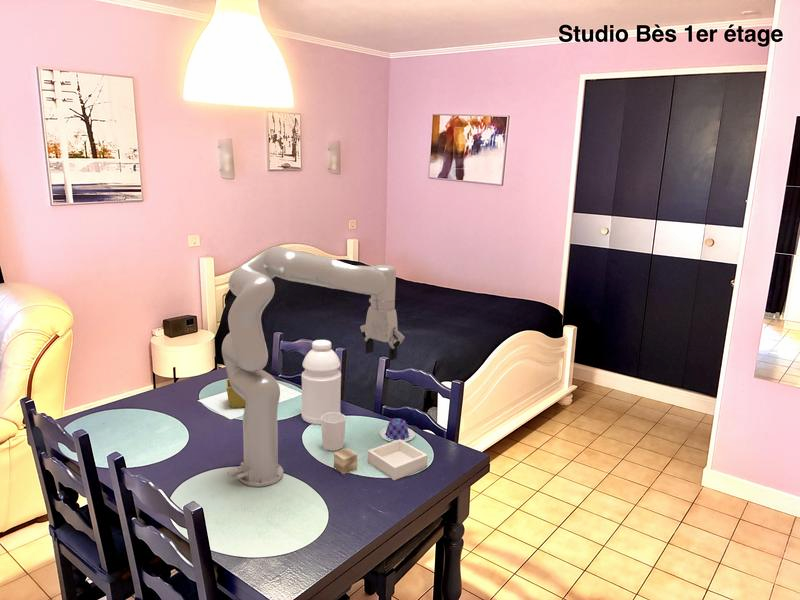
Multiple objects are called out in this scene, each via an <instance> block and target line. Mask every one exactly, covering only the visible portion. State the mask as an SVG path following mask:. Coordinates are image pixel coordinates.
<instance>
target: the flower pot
mask: <svg viewBox="0 0 800 600" xmlns="http://www.w3.org/2000/svg"><path fill="white" fill-rule="evenodd" d="M225 384H226V385H225V386H226V393H227V400H228V403H229V405H230V407H233V408H232V409H234V408H235V407H238V408H245V406H246V402H245V400H244V399H243V398H242V397H241V396H240V395H238V394H237V393H236V392H235V391H234V390H233V389H232V387H231V385H230V382H229V379H228V378H227V379H226V380H225ZM235 409H236V408H235Z"/></svg>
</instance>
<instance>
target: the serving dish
mask: <svg viewBox="0 0 800 600" xmlns="http://www.w3.org/2000/svg"><path fill="white" fill-rule="evenodd" d="M428 456H429V455H428V454H426V453H425V452H424V451H421V450H419V449H418V448H416V447H415V446H413V445H411V444H409V443H407V441H405V442H404V441H403V440H401V439H399V440H396V441H395V440H394V441H393V442H392V441H389V442H388V443H385V444H382V445H380V446H377V447H374V448H371V449H368V450H367V461H366V462H368V463H367V464H368V465H370V464H371V465H370V466H371V467H373V466H374V467H373V468H375V469H376V470H377V471H379V470H380V471H379V472H381V473H382V472H383V474H384V475H385V476H386V477H389V478H390V479H391V480H393V481H396V480H398V479H402V478H404V477H406V476H409V475H412V474H414V473H416V472H419V471H421V470H423V469H426V468H428V460H429V459H428V458H429V457H428Z"/></svg>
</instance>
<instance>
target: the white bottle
mask: <svg viewBox="0 0 800 600" xmlns="http://www.w3.org/2000/svg"><path fill="white" fill-rule="evenodd" d="M311 348H312V349H310V350H309V351H308V352H307V353H306V355H305V357H304V359H303V361H302V368H303V369H304V370H303V371H302V372H301V419H302V420H303V421H304V422H307V424H308V423H309V424H313V425H321V416H322V415H324V414H326V413H332V412H335V413H341V392H342V391H341V389H342V388H341V387H342V372H341V371H340V370H339V368H340V367H341V362H340V358H339V356H338V355H337V353H336V352H335V351H334V349H332V342H331V341H330V340H327V339H315V340H314V341H312V343H311ZM341 414H342V413H341Z"/></svg>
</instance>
